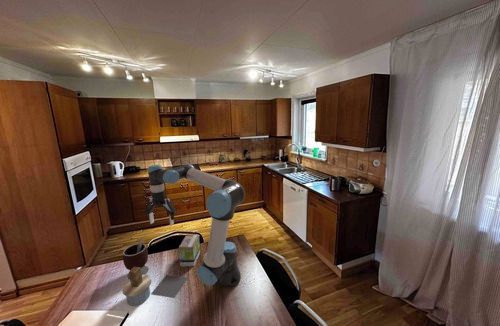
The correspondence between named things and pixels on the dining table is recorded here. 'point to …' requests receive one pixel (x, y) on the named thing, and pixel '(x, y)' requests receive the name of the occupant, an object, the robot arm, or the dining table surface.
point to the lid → (136, 282)
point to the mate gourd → (136, 257)
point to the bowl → (138, 298)
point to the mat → (169, 286)
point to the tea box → (189, 250)
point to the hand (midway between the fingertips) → (162, 223)
